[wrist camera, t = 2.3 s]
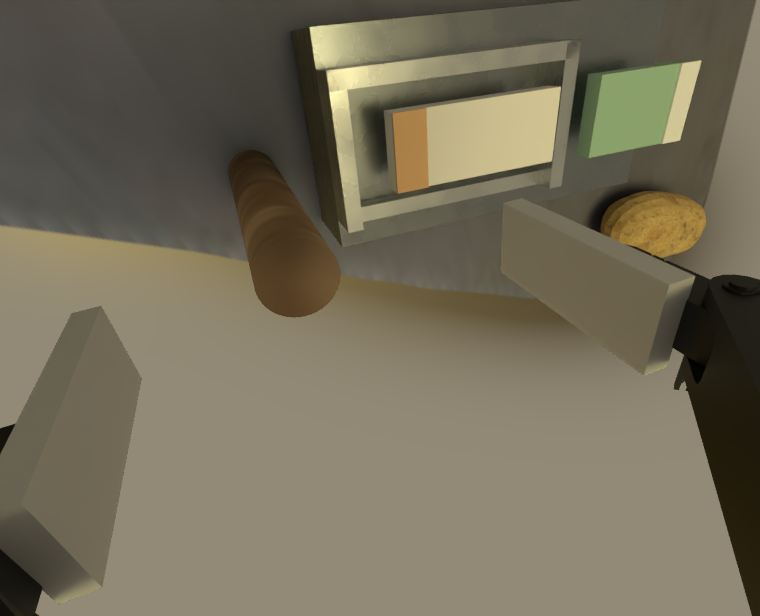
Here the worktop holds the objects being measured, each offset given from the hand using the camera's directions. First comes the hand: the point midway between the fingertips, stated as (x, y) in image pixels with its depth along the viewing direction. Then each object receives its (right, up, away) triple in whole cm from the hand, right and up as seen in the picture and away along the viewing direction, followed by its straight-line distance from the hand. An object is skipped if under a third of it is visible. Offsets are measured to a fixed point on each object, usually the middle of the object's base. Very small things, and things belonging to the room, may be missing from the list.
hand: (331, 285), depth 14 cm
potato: (+28, +9, +32) cm, 44 cm away
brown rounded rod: (-8, +9, +17) cm, 21 cm away
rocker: (+7, +10, +12) cm, 17 cm away
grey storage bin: (+8, +15, +20) cm, 27 cm away
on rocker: (+19, +13, +15) cm, 28 cm away
